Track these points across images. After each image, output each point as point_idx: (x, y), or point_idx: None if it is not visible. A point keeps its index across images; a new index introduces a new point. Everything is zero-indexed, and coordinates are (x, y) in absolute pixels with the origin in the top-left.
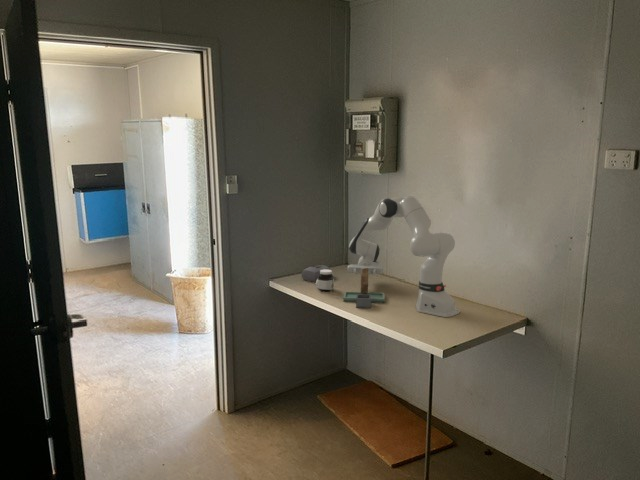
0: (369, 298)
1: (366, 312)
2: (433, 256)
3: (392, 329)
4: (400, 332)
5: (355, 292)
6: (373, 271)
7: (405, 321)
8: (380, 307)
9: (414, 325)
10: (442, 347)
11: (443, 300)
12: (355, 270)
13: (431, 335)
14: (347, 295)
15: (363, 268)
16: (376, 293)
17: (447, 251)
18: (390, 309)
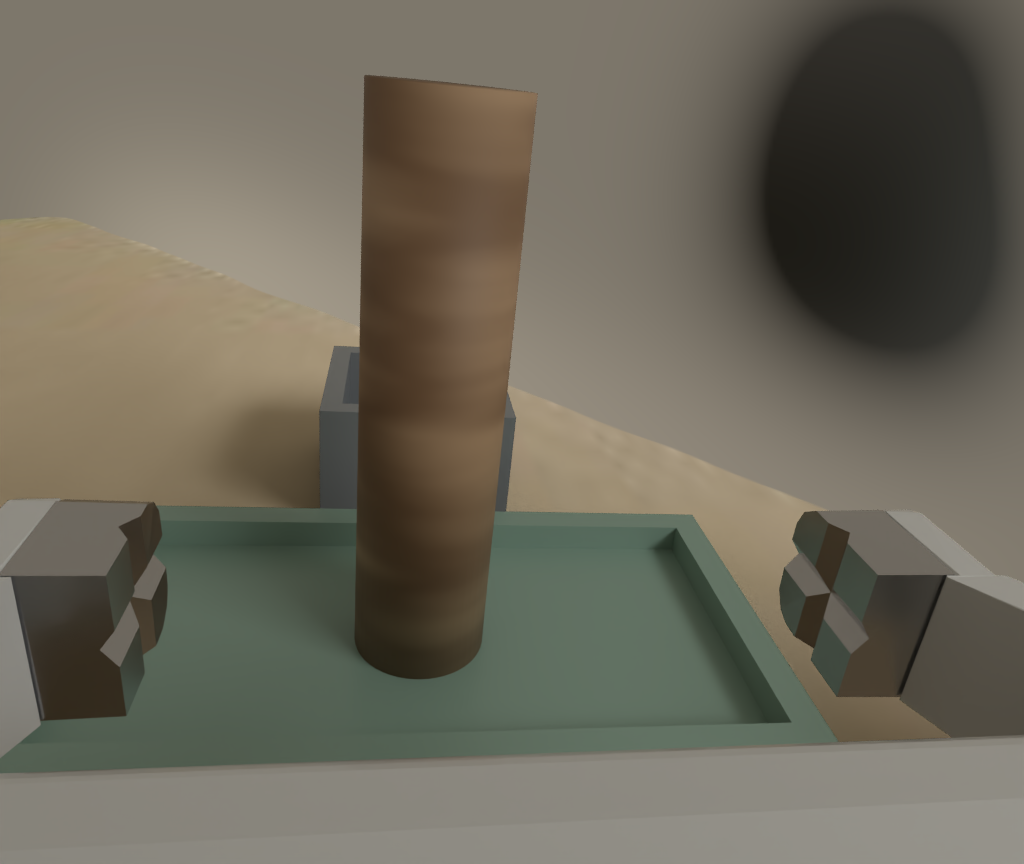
0: (349, 352)
1: None
2: None
3: (231, 281)
4: (195, 268)
5: (613, 728)
6: (61, 501)
7: (95, 318)
8: (219, 459)
9: (61, 294)
10: (53, 220)
11: None
12: (921, 525)
13: (31, 251)
14: (716, 671)
15: (483, 88)
16: (146, 746)
17: None
18: (120, 431)
